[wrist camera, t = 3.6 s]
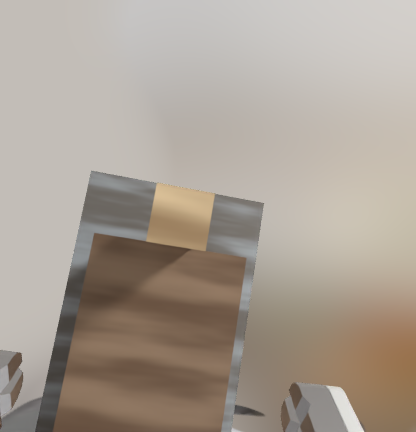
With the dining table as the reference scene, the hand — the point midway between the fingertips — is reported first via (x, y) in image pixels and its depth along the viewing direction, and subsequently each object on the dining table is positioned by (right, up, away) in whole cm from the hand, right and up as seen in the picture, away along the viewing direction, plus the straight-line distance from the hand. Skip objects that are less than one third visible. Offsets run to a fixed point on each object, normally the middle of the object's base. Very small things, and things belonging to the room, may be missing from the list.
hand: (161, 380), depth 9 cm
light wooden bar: (-1, +3, +14) cm, 14 cm away
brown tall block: (-7, -24, +21) cm, 32 cm away
